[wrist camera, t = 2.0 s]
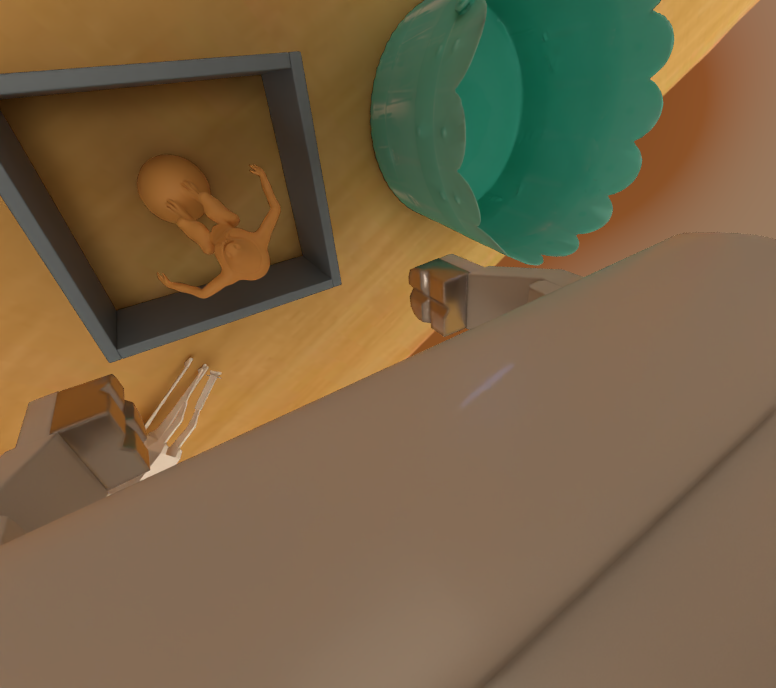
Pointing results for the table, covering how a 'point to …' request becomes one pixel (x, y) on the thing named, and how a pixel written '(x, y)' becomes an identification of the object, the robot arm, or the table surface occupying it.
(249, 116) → the table surface
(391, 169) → the basket
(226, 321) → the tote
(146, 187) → the figurine
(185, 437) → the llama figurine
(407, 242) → the table surface
